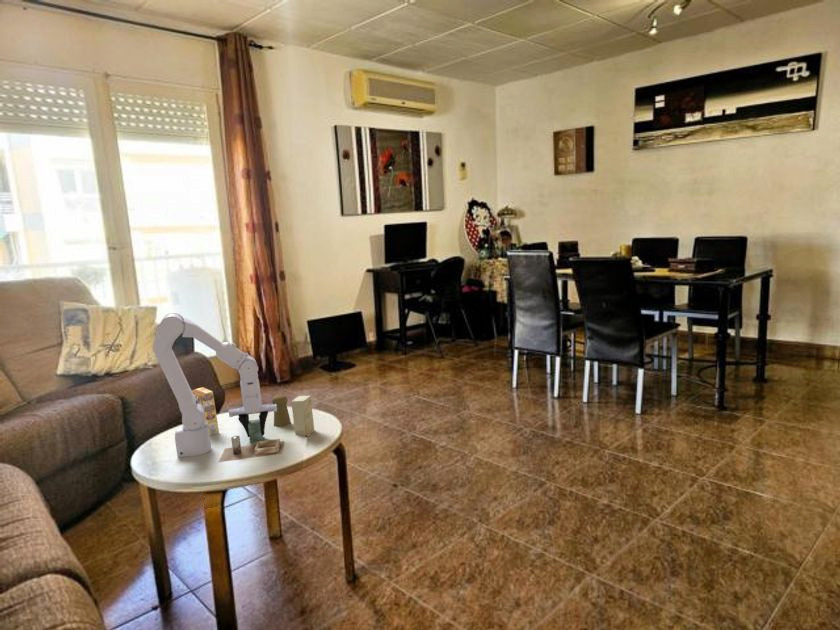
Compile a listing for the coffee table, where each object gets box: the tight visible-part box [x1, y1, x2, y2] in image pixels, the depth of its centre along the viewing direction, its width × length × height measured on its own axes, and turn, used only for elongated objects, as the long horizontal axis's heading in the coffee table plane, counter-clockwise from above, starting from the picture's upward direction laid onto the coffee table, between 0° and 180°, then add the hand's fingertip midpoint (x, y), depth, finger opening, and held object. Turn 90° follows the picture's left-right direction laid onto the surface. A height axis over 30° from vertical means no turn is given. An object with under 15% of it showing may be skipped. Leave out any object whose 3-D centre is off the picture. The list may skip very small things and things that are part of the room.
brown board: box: [218, 438, 285, 463], centre depth 164 cm, size 18×10×2 cm, turn 100°
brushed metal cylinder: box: [230, 435, 242, 455], centre depth 163 cm, size 2×2×5 cm
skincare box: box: [290, 395, 315, 438], centre depth 178 cm, size 6×4×12 cm
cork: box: [271, 394, 292, 428], centre depth 186 cm, size 6×6×11 cm
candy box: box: [191, 387, 220, 436], centre depth 184 cm, size 9×4×15 cm, turn 44°
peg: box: [248, 418, 264, 443], centre depth 173 cm, size 4×4×7 cm
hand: (256, 435), depth 173 cm, fingers closed on peg, 4 cm apart
